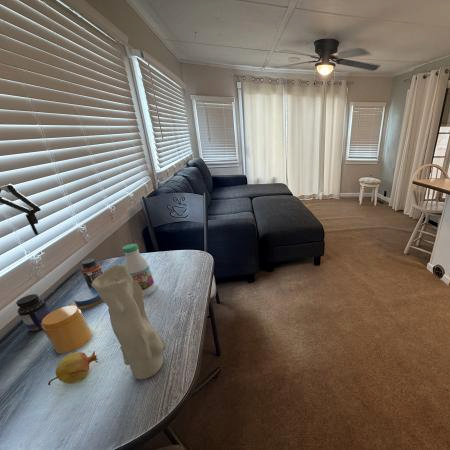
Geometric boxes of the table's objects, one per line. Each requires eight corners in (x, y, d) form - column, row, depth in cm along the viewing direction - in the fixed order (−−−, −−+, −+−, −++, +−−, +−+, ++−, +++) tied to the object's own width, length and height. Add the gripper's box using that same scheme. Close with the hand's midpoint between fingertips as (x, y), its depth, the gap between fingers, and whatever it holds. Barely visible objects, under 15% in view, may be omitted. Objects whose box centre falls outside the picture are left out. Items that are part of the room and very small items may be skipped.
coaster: (62, 310, 86) (61, 308, 86) (89, 289, 97) (89, 287, 97) (95, 309, 86) (94, 308, 85) (118, 288, 97) (118, 287, 96)
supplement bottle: (99, 288, 97) (88, 265, 93) (84, 289, 97) (74, 265, 93) (110, 280, 102) (101, 257, 98) (96, 280, 103) (86, 257, 98)
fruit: (40, 386, 54) (96, 358, 60) (39, 361, 58) (91, 337, 64) (53, 399, 58) (104, 371, 64) (51, 375, 62) (99, 351, 68)
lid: (68, 305, 87) (66, 301, 86) (89, 290, 95) (87, 286, 95) (93, 305, 87) (91, 301, 86) (112, 289, 95) (110, 285, 94)
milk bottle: (130, 291, 95) (114, 246, 87) (152, 282, 100) (138, 239, 92) (136, 300, 90) (119, 253, 82) (158, 290, 95) (144, 245, 87)
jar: (47, 353, 69) (30, 326, 65) (73, 330, 77) (59, 304, 73) (75, 353, 69) (60, 325, 65) (98, 330, 76) (86, 304, 72)
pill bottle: (55, 315, 83) (41, 289, 79) (55, 325, 79) (40, 298, 75) (29, 325, 79) (13, 298, 75) (28, 335, 75) (11, 308, 71)
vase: (143, 354, 68) (107, 263, 56) (174, 352, 68) (144, 260, 57) (124, 384, 60) (79, 285, 48) (159, 381, 60) (122, 282, 49)
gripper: (-124, 181, 54) (-67, 261, 62) (32, 166, 72) (61, 230, 80) (-115, 177, 59) (-63, 253, 67) (30, 164, 76) (58, 225, 84)
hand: (5, 241), depth 73 cm, fingers open, 13 cm apart
